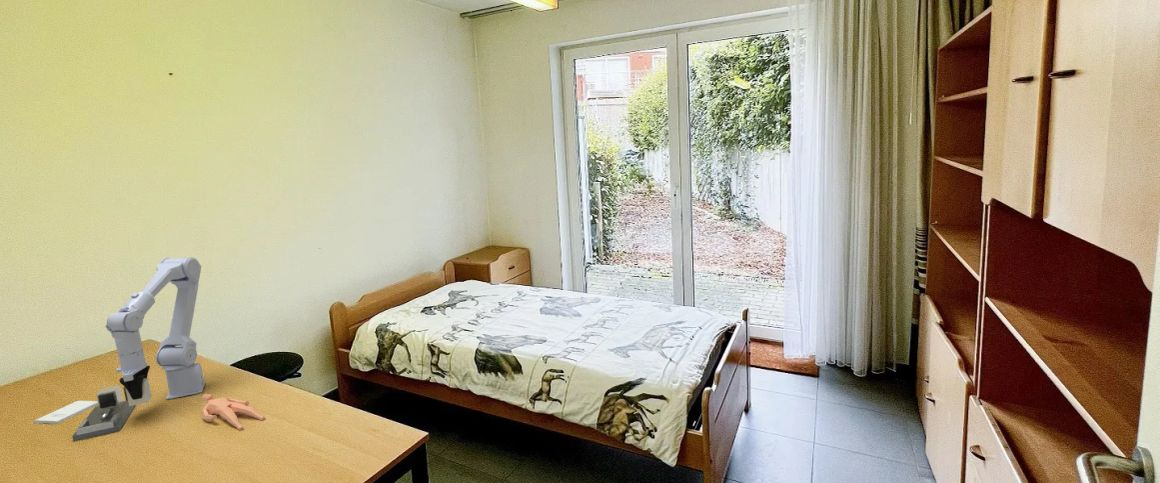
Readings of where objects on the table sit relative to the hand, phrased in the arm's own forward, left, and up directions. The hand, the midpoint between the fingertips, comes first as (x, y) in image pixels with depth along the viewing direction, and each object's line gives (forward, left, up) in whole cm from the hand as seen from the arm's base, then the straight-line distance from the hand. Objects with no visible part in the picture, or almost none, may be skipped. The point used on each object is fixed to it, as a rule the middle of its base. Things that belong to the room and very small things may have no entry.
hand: (139, 395), depth 163 cm
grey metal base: (+9, -2, -6) cm, 11 cm away
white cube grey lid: (0, 0, -2) cm, 2 cm away
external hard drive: (+22, -16, -7) cm, 28 cm away
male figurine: (-23, +15, -7) cm, 28 cm away
